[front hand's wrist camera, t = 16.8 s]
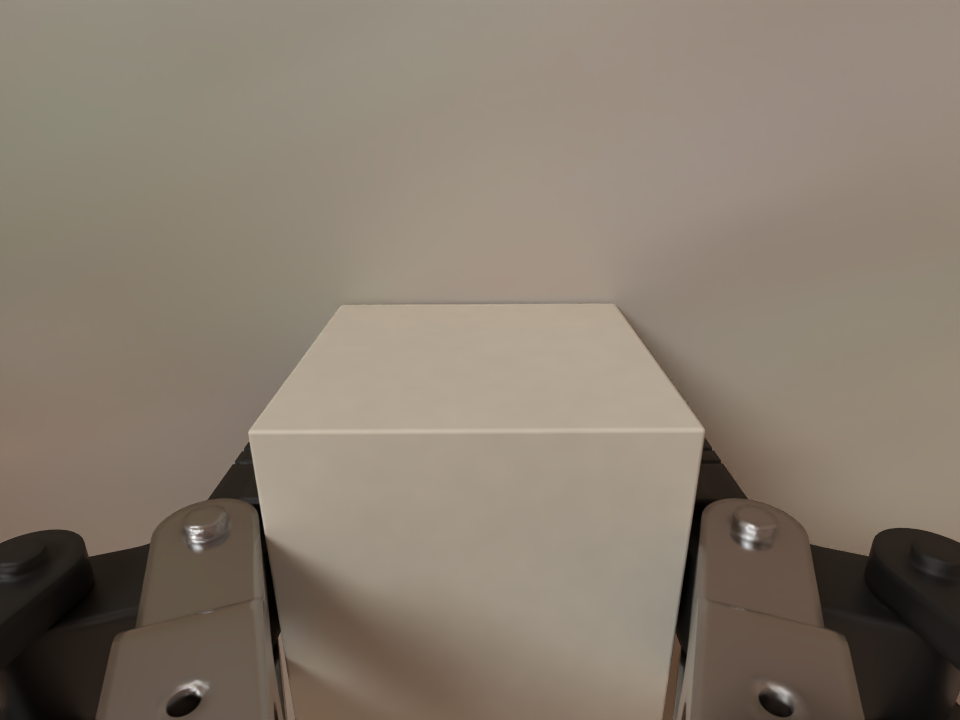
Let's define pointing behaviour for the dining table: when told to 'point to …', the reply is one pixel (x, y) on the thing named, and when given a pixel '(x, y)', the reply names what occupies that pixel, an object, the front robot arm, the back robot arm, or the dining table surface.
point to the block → (477, 514)
